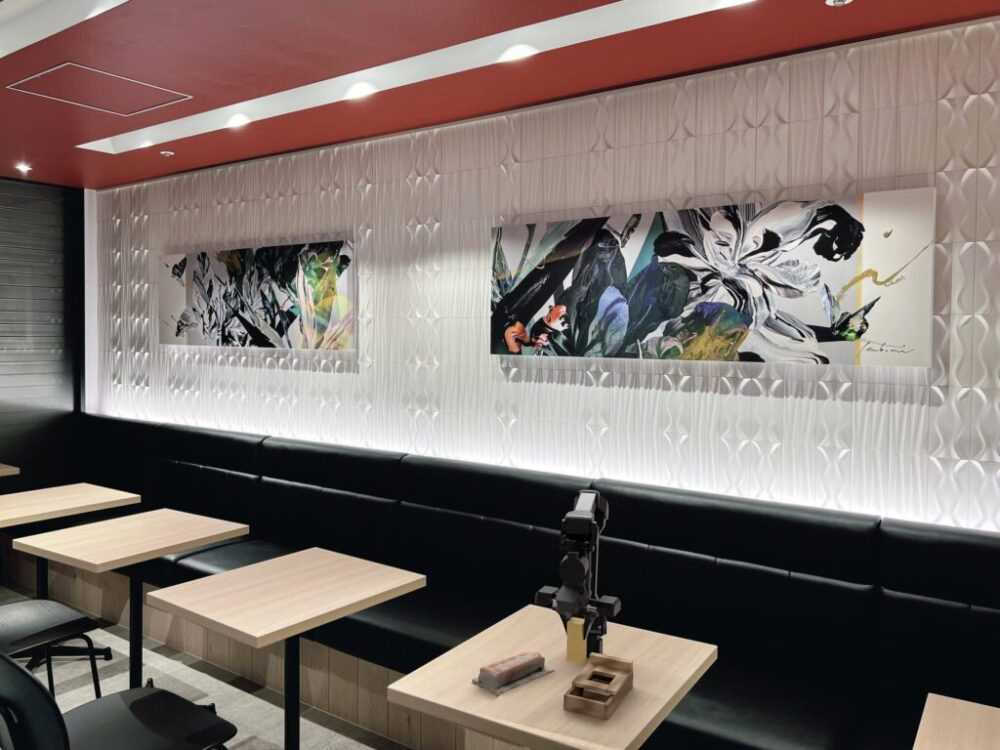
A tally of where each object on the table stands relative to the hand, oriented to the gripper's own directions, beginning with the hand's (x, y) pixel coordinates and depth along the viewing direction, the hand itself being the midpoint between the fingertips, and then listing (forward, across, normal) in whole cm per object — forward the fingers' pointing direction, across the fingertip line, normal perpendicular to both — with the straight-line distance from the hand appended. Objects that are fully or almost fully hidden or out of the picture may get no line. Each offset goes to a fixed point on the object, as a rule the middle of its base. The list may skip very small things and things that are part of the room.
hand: (576, 637), depth 179 cm
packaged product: (+14, -16, +1) cm, 21 cm away
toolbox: (+13, +6, -1) cm, 14 cm away
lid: (+9, +6, +1) cm, 11 cm away
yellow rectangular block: (+5, 0, 0) cm, 5 cm away
